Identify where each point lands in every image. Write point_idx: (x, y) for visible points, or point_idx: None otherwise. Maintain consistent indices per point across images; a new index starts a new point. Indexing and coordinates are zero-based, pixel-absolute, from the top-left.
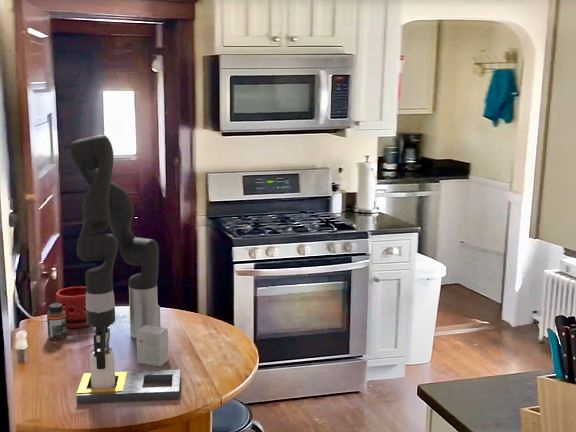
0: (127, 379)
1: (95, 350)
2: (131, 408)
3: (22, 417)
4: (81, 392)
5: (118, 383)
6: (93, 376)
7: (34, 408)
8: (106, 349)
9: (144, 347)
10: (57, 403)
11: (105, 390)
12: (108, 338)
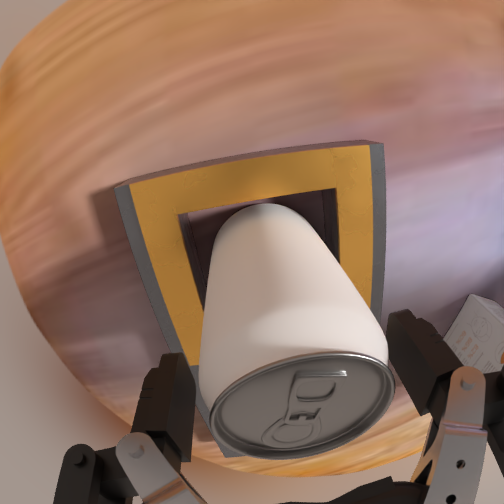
0: None
1: (63, 498)
2: (147, 368)
3: (26, 35)
4: (135, 207)
5: None
6: (215, 270)
7: (83, 27)
8: (353, 416)
9: (487, 352)
10: (127, 90)
11: (179, 308)
12: (415, 470)
